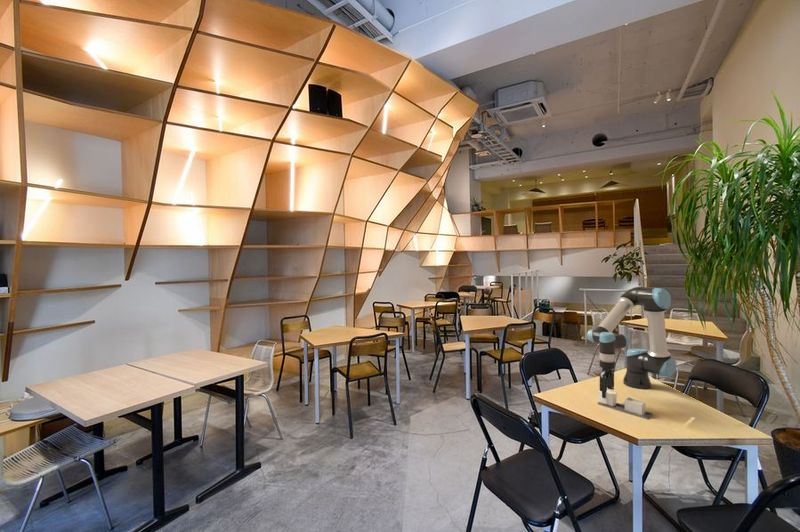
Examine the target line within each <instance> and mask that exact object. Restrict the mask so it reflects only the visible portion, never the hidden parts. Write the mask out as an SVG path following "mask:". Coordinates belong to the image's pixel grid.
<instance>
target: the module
mask: <svg viewBox="0 0 800 532" xmlns="http://www.w3.org/2000/svg"><path fill="white" fill-rule="evenodd" d="M596 395H597V397H596V398H597V399H596V400H597V401H596V402H597V403H598V402H600V403H602V391H600V389H599V390H597V394H596ZM617 397H618V395H617V392H615V391H612V392H611V391H607V405H610V406H614V405H615V404H617V403H618V402H617Z"/></svg>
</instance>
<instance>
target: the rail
mask: <svg viewBox="0 0 800 532" xmlns="http://www.w3.org/2000/svg"><path fill="white" fill-rule="evenodd" d="M597 405H599V406H602V407H605V408H609V409H612V410H615V411H619V412H622V413H625V414H629V415H632V416H634V417H638V418H641V419H643V420H644V419H646V420H648V419H650V418H651V417H652V416H654V413H652V412H650V411H646V410H645V414H644V415H643V416H642V415H639V414H635V413H632V412H629V411H625V404H621V403H618V402H617V404H615V405H614V406H610V405H607V404H604V403H600V402H597Z"/></svg>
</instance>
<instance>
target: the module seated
mask: <svg viewBox="0 0 800 532" xmlns="http://www.w3.org/2000/svg"><path fill="white" fill-rule="evenodd" d="M624 405H625V411H629V412H632V413H635V414H639V415H642V416H643V415H644V414H645V411H646V402H645V401H642V400H638V399H634V398H633V397H629V396H628V397H627V398H626V399H625V400H624Z"/></svg>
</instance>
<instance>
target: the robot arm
mask: <svg viewBox="0 0 800 532" xmlns="http://www.w3.org/2000/svg"><path fill="white" fill-rule="evenodd" d="M671 303H672V297H671V294H670V292H669V291H667V290H666V289H665V288H660V287H649V286H635V287H632V288H629V289H628V290H626V291H625V292H624V293H623V294H621V295H620V296H619V297H618V299H617V302H616V304H615V305H614V306H613V307H612V309H611V310H610V311H609V312H608V313H607V315H606V316H605V317H604V319H602V321H601V322H600V323H599V325H598V326H597V327H596V329H589V330H588V331H587V333H586V338H587V339H588V341H589V342H592V343H595V344H598V345H599V352H598V355H599V363H598V364H599V366H598V367H600V368H601V373H598V375H599V390H600V391H602V403H604V404H607V391H611V392H613V390H615V373H616V372H615V370H614V369H615V368H616V362H615V361H616V350H617V349H623V348H627V347H629V346H630V344H631V338H630V337H629V336H628V335H627V334H625V333H613V331H614V330H615V328H616V327H617V326H618V325H619V323H620V322H621V321H622V320H623V319H624V317H626V315H627V313H628V312H629V311H630V310H633V309H634V307H636V306H640V307H642V308H643V311H644V312H645V313H646V319H647V329H648V330H647V331H648V341H649V349H646V348H629V349H627V351H626V372H625V375H624V377H623V380H622V381H623V382H622V383H623V385H625V386H628V387H630V388H633V389H640V390H641V389H642V390H648V389H651V388H652V382H651V379H650V377H649V373H650V374H655V375H657V376H660V377H666V378H668V377H669V378H670V376H672V375H673V374H674V373H675V371H676V370H677V369H676V368H677V360H676V359H675V358H674V357H673V358H672V355H671V353H670V352H669V351H668V345H667V332H666V330H667V329H666V321H665V320H666V319H665V312H667V311H668V308H670V307H671Z"/></svg>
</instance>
